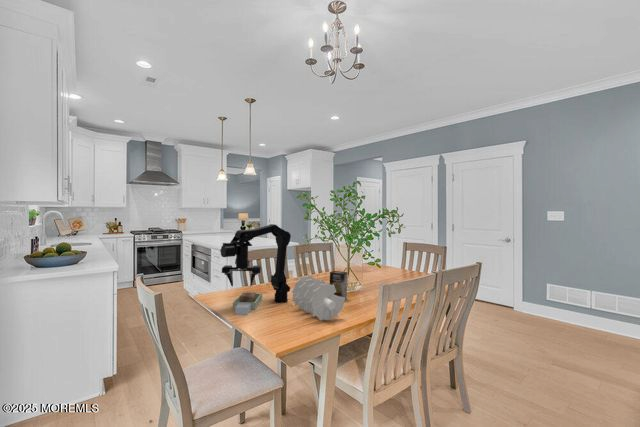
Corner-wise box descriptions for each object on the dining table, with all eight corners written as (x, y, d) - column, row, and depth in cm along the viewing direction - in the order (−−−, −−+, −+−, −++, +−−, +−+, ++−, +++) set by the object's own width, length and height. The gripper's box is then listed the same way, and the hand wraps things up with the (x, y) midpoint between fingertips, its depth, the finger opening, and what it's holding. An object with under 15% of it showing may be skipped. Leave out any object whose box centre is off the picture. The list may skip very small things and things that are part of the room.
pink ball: (256, 300, 169) (256, 291, 169) (254, 302, 164) (254, 293, 164) (247, 300, 169) (248, 291, 169) (245, 302, 164) (246, 293, 164)
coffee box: (328, 300, 173) (329, 272, 173) (332, 297, 179) (333, 270, 179) (343, 302, 170) (344, 273, 170) (347, 299, 176) (347, 271, 176)
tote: (262, 300, 171) (262, 293, 170) (255, 310, 154) (255, 302, 153) (241, 300, 171) (241, 292, 171) (232, 310, 154) (232, 302, 154)
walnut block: (255, 303, 163) (255, 292, 162) (252, 308, 156) (252, 296, 155) (242, 303, 163) (243, 292, 162) (239, 307, 156) (239, 296, 155)
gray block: (250, 312, 152) (250, 303, 152) (247, 316, 146) (247, 307, 146) (238, 312, 152) (238, 303, 152) (235, 316, 146) (235, 307, 146)
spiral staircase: (323, 332, 138) (295, 313, 158) (350, 310, 146) (321, 294, 167) (310, 300, 132) (283, 284, 153) (339, 278, 141) (310, 266, 161)
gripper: (262, 253, 160) (262, 282, 160) (226, 252, 159) (226, 282, 159) (260, 256, 149) (259, 287, 149) (221, 256, 147) (221, 287, 148)
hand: (241, 286), depth 152 cm, fingers open, 9 cm apart
